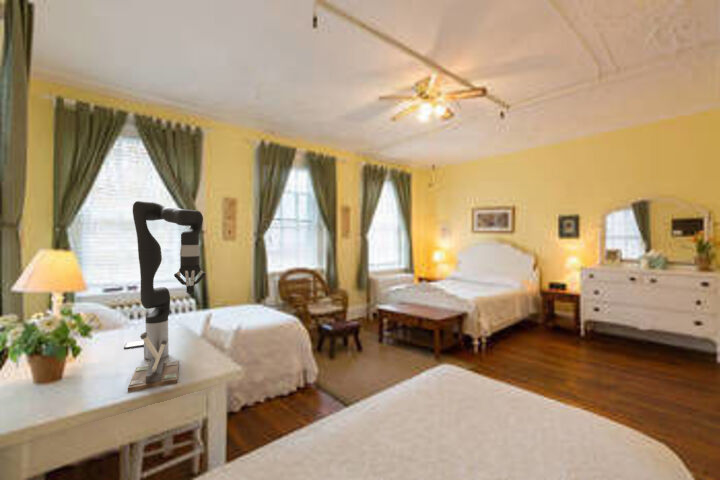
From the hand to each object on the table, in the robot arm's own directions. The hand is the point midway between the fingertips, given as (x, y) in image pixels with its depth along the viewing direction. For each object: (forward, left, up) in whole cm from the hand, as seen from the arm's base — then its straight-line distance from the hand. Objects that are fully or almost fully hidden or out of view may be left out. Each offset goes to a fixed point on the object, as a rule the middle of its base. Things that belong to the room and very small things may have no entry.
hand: (190, 293), depth 141 cm
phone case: (-45, +24, -33) cm, 60 cm away
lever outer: (-4, -17, -27) cm, 32 cm away
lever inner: (-12, -6, -27) cm, 30 cm away
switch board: (-8, -11, -33) cm, 35 cm away
